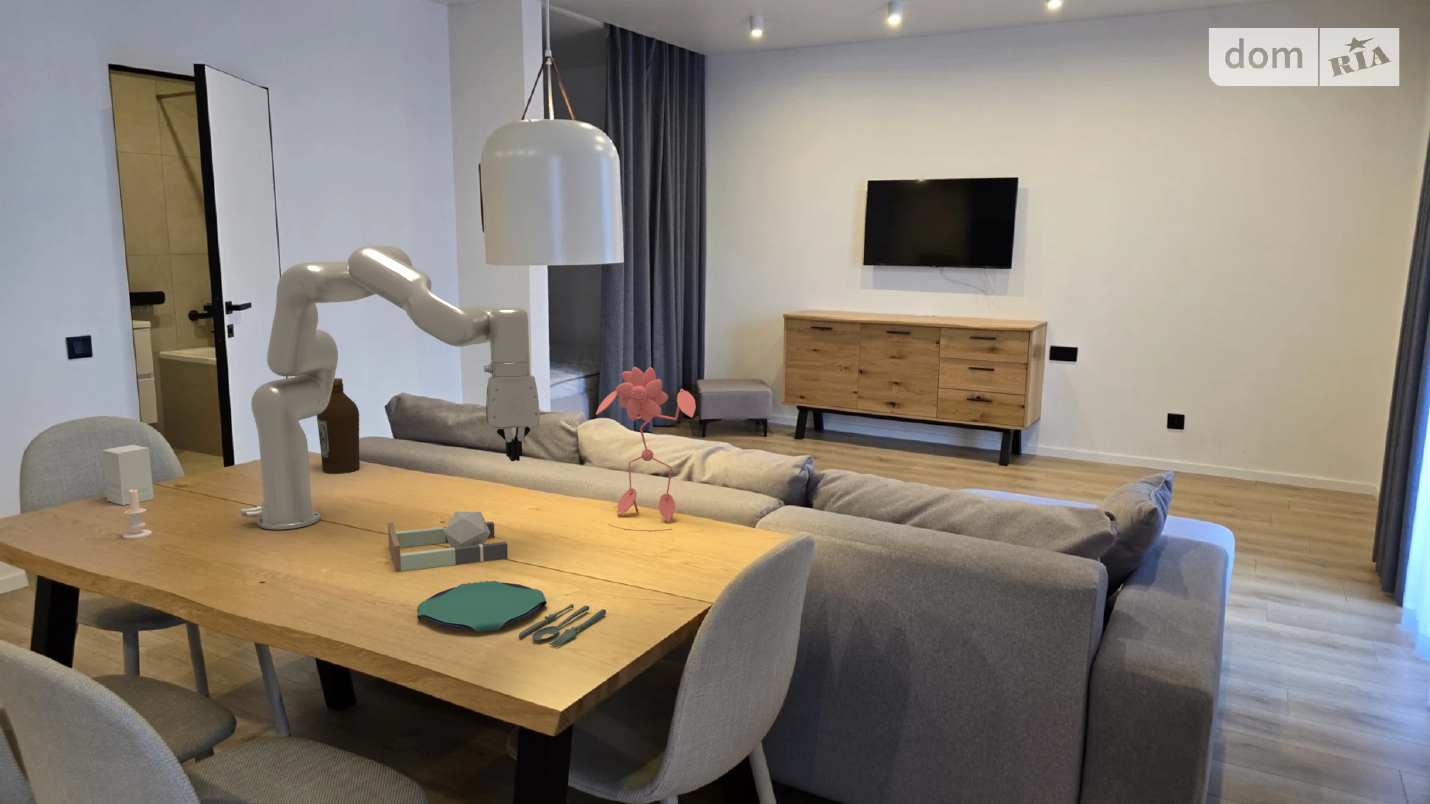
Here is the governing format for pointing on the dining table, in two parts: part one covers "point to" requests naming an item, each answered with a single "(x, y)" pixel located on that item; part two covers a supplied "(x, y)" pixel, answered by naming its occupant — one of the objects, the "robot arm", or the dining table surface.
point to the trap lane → (439, 555)
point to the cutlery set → (496, 609)
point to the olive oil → (339, 432)
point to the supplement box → (127, 473)
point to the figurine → (644, 400)
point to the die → (466, 529)
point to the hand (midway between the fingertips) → (514, 459)
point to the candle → (135, 518)
